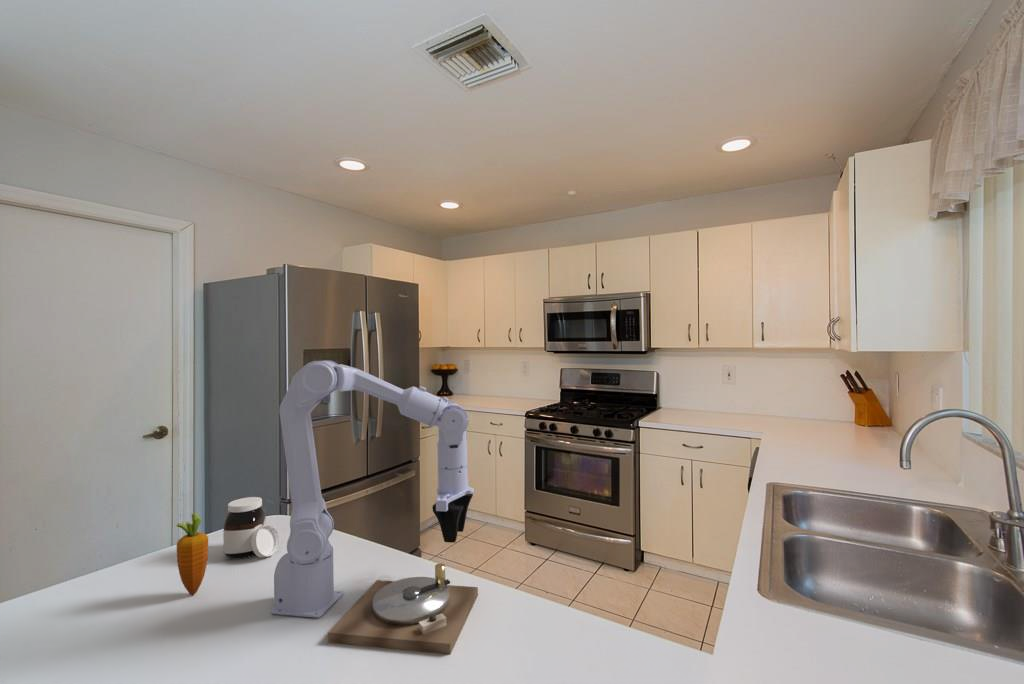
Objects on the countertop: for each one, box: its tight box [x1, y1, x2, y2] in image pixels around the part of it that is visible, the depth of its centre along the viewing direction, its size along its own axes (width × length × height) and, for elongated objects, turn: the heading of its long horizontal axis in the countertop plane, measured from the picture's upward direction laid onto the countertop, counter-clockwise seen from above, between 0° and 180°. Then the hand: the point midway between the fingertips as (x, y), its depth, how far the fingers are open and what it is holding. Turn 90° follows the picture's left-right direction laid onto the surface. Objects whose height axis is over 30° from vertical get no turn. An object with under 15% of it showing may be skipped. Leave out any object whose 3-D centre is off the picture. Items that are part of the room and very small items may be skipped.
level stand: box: [327, 579, 479, 655], centre depth 78 cm, size 20×16×3 cm
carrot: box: [176, 512, 209, 596], centre depth 87 cm, size 5×5×15 cm
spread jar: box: [222, 496, 280, 559], centre depth 105 cm, size 12×11×12 cm
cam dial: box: [373, 563, 451, 625], centre depth 80 cm, size 14×13×5 cm
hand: (454, 536), depth 89 cm, fingers open, 4 cm apart
